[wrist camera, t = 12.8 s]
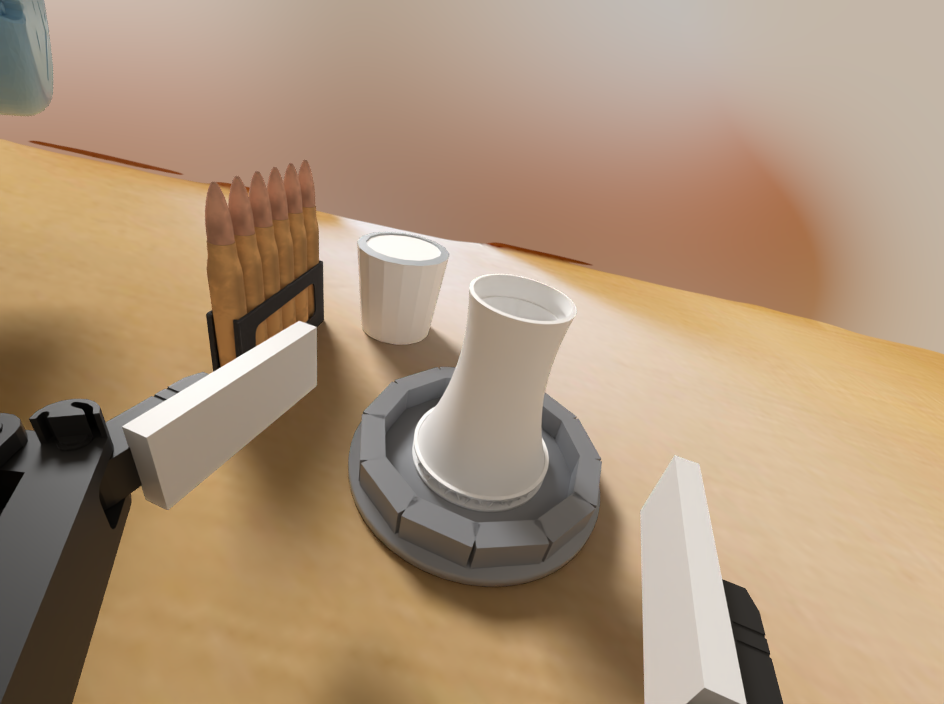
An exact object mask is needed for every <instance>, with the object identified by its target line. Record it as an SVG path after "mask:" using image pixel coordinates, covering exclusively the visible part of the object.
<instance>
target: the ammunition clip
mask: <svg viewBox="0 0 944 704" xmlns="http://www.w3.org/2000/svg"><path fill="white" fill-rule="evenodd" d="M205 225H206V233H207V250H208V260H207V276H208V283H209V290H210V297H211V304H212V310H211V311H210V312H208V313H207V314H206V317H207V325H208V333H209V341H210V349H211V357H212V365H213V372H214V371H216V370H217V369H219V368H221V367H222V366H224V365H226V364H227V363H229V362H231V361H232V360H234V359H236V358H237V357H239V356H241V355H243V354H244V353H246V352H248V351H249V350H251V349H253V348H254V347H256V346H258V345H259V344H261V343H263V342H264V341H266V340H268V339H269V338H271V337H273V336H274V335H276V334H278V333H279V332H281V331H283V330H284V329H286V328H288V327H289V326H291V325H293V324H295V323H296V322H298V321H301V322H304V323H307V324H310V325H312V326H315V327H317V326H318V325H319V324H320V323H321V322H322V321H323V320H324V300H323V261H319V229H318V223H317V218H316V206H315V189H314V182H313V177H312V173H311V169H310V166H309V164H308V162H307V160H303V162H302V164H301V167H300V170H299V174H298V175H297V172H296V169H295V167H294V165H293V164H292V163H290V164H289V165H288V167H287V169H286V173H285V176H284V181H282V177H281V175H280V173H279V171H278V169H277V168H276V167H273V169H272V170H271V173H270V176H269V180H268V185H267V188H266V185H265V182H264V180H263V178H262V176H261V174H260V172H258V171H256V172H255V173H254V175H253V177H252V181H251V185H250V190H249V197H248V194H247V191H246V188H245V186H244V184H243V182H242V180H241V179H240V177H239V176H235V177H234V179H233V182H232V184H231V188H230V194H229V203H228V205H227V203H226V200H225V197H224V195H223V193H222V191H221V189H220V187H219V185H218V184H217V183H216V182H211V184H210V186H209V189H208V192H207V198H206V206H205Z"/></svg>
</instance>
